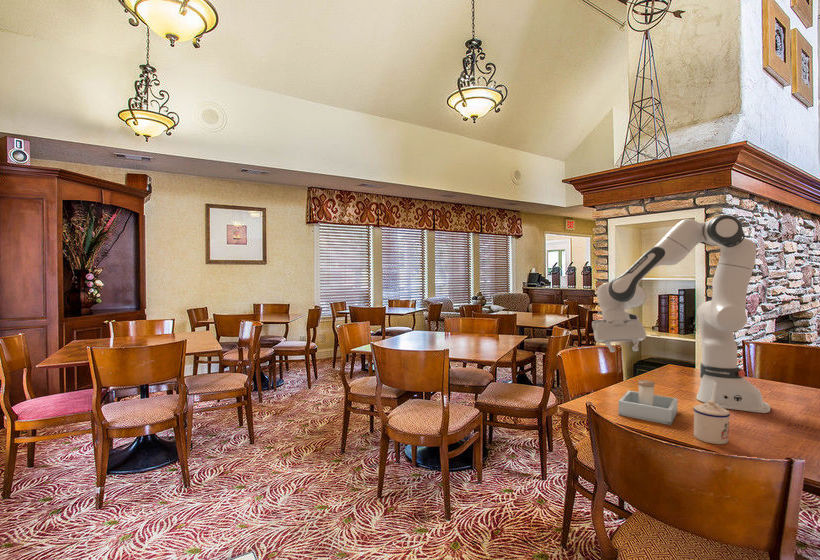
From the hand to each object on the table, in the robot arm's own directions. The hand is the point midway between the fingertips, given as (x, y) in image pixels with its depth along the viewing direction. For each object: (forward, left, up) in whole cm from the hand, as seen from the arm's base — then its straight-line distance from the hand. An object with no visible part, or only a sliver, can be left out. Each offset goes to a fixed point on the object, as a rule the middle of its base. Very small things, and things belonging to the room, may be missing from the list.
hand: (624, 351), depth 171 cm
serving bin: (-11, +16, -18) cm, 27 cm away
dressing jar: (-10, +15, -17) cm, 25 cm away
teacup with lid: (-30, +28, -19) cm, 45 cm away
